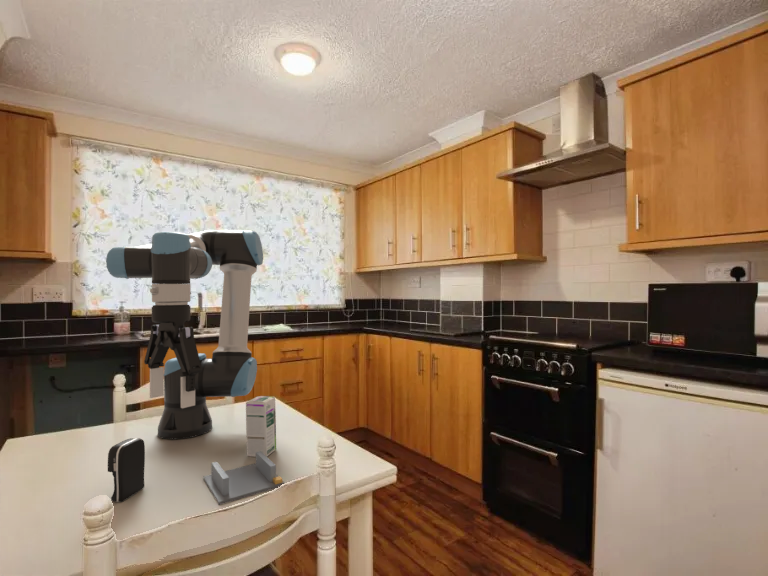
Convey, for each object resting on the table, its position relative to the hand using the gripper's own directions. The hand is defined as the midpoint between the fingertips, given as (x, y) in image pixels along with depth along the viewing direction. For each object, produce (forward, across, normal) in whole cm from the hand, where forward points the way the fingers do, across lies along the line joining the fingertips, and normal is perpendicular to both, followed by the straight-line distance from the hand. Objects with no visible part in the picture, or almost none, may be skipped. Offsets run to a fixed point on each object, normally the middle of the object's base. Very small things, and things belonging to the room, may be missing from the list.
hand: (171, 401), depth 90 cm
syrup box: (+20, -1, +24) cm, 31 cm away
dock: (+19, +9, +11) cm, 24 cm away
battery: (+20, -6, -7) cm, 21 cm away
